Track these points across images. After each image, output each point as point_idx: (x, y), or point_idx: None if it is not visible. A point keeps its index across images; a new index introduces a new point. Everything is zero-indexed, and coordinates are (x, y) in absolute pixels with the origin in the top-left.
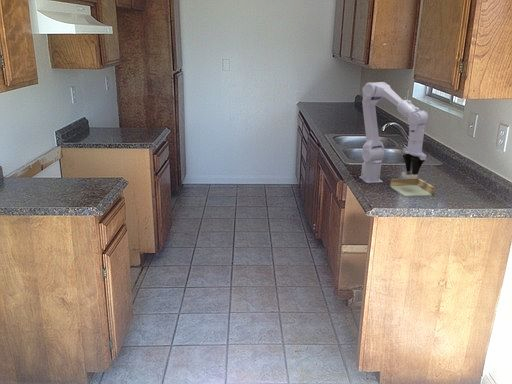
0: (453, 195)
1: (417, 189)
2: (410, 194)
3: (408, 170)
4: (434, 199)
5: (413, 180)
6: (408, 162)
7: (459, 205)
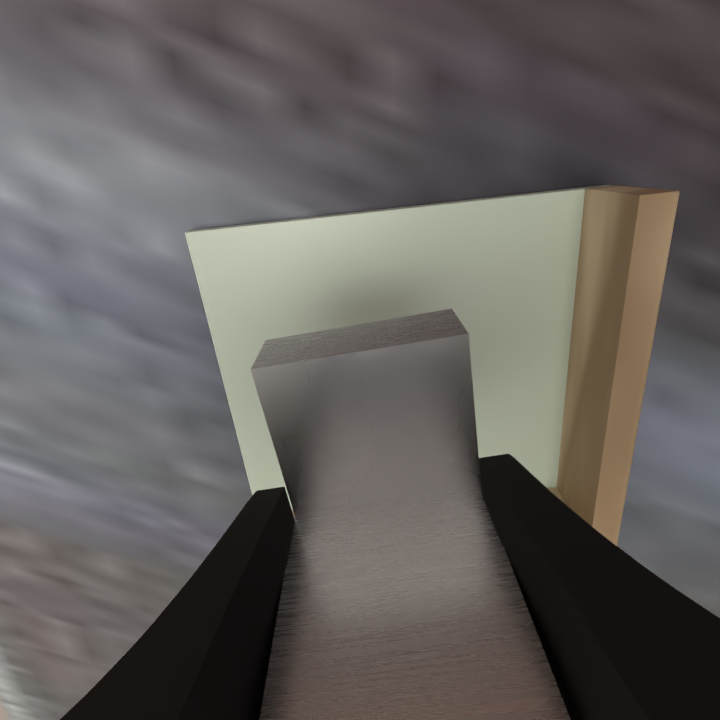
0: None
1: None
2: (236, 318)
3: (487, 494)
4: (170, 491)
5: (585, 489)
6: (584, 672)
7: (47, 597)
